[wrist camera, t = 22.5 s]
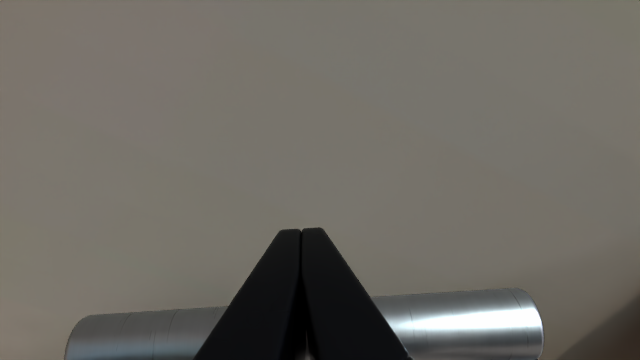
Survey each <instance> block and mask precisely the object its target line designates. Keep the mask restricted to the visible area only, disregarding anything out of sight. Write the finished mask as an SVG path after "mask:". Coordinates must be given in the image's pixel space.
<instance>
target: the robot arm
mask: <svg viewBox="0 0 640 360" xmlns="http://www.w3.org/2000/svg"><path fill="white" fill-rule="evenodd" d="M306 330H307V340H308V348H309V355H310V360H413V358H412V357H409V353H408V351H407V350H406V348H405V347H404V346H403V344H402V343H401V341H400V340H399V338H398V337H397V335H396V334H395V332H394V331H393V330H392V328H391V327H390V325H389V324H388V322H387V321H386V319H385V318H384V316H383V315H382V314H381V312H380V311H379V309H378V308H377V306H376V305H375V303H374V302H373V301H372V299H371V298H370V296H369V295H368V293H367V292H366V290H365V289H364V287H363V286H362V285H361V283H360V282H359V280H358V279H357V277H356V276H355V274H354V273H353V271H352V270H351V269H350V267H349V266H348V264H347V263H346V261H345V260H344V258H343V257H342V255H341V254H340V253H339V251H338V250H337V248H336V247H335V245H334V244H333V242H332V241H331V240H330V238H329V237H328V235H327V234H326V232H325V231H324V230H323V229H322V228H320V227H318V228H304V229H303V230H302V232H301V231H300V230H299V229H285V230H281V231H279V232H278V234H277V235H276V237H275V238H274V240H273V241H272V243H271V244H270V246H269V247H268V249H267V250H266V252H265V253H264V255H263V256H262V257H261V259H260V260H259V262H258V263H257V265H256V266H255V268H254V269H253V271H252V272H251V274H250V275H249V277H248V278H247V280H246V281H245V283H244V284H243V286H242V287H241V288H240V290H239V291H238V293H237V294H236V296H235V297H234V299H233V300H232V302H231V303H230V305H229V306H228V308H227V309H226V311H225V312H224V314H223V315H222V317H221V318H220V320H219V321H218V322H217V324H216V325H215V327H214V328H213V330H212V331H211V333H210V334H209V336H208V337H207V339H206V340H205V342H204V343H203V345H202V346H201V348H200V349H199V351H198V352H197V354H196V355H195V356H194V358H193V359H192V360H305V354H306Z"/></svg>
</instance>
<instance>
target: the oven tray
mask: <svg viewBox="0 0 640 360" xmlns="http://www.w3.org/2000/svg"><path fill="white" fill-rule="evenodd" d="M370 298H371V299H372V301H373V302H374V303H375V305H376V306H377V308H378V309H379V311H380V312H381V314H382V315H383V316H384V318H385V319H386V321H387V322H388V324H389V325H390V327H391V328H392V330H393V331H394V332H395V334H396V335H397V337H398V338H399V340H400V341H401V343H402V344H403V346H404V347H405V348H406V350H407V351H408V353H409V357H412V358H413V360H538V359H537V358H539V357H540V356H541V354H542V352H543V348H544V330H543V324H542V320H541V317H540V314H539V311H538V309H537V306H536V304H535V303H534V301H533V299H532V298H531V296H530V295H529V294H528V293H527V292H526V291H524V290H522V289H519V288H505V289H489V290H474V291H458V292H442V293H427V294H411V295H396V296H380V297H370ZM227 308H228V306H224V307H208V308H193V309H177V310H161V311H146V312H130V313H114V314H99V315H89V316H87V317H85V318H83V319H81V320H80V321H79V322H78V323H77V324H76V325H75V327H74V328H73V330H72V332H71V334H70V336H69V339H68V342H67V345H66V349H65V356H64V360H192V359H193V358H194V356H195V355H196V354H197V352H198V351H199V349H200V348H201V346H202V345H203V343H204V342H205V340H206V339H207V337H208V336H209V334H210V333H211V331H212V330H213V328H214V327H215V325H216V324H217V322H218V321H219V320H220V318H221V317H222V315H223V314H224V312H225V311H226V309H227ZM305 360H310V355H309V348H308V340H307V330H306V354H305Z"/></svg>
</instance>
